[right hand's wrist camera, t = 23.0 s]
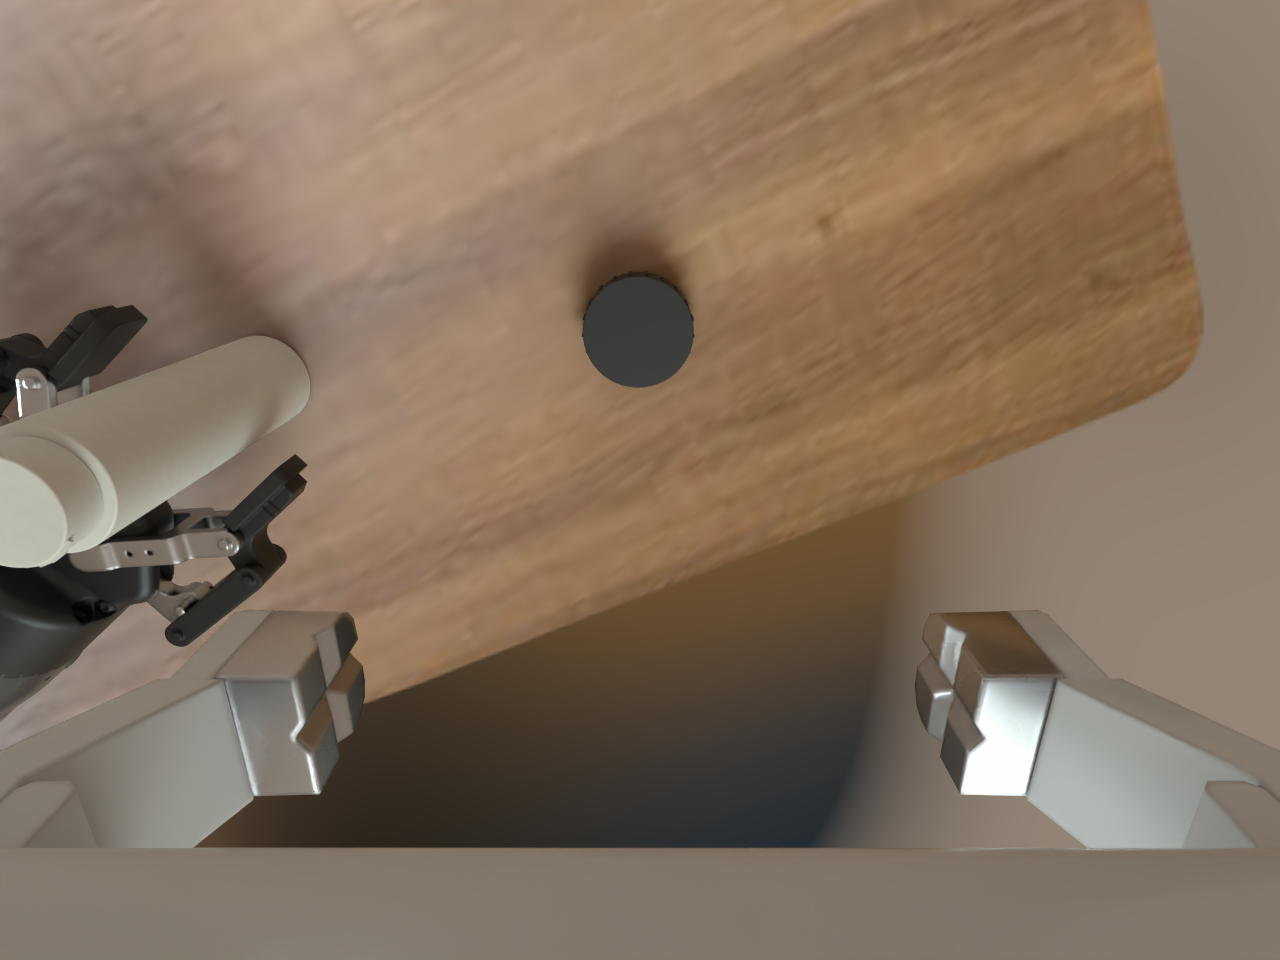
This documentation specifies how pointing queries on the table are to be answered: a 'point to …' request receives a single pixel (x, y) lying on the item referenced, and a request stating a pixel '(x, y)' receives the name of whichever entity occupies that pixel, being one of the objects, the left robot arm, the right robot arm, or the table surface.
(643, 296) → the lid
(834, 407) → the table surface
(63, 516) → the jar
